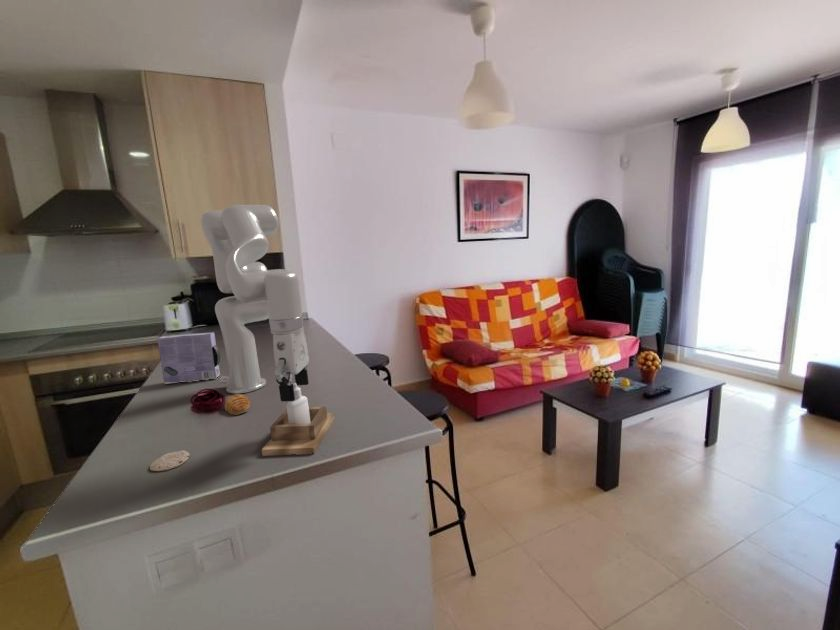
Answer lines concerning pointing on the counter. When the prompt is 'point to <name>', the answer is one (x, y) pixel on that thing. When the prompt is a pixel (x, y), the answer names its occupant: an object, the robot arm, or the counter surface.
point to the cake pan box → (189, 357)
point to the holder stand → (298, 434)
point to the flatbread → (169, 461)
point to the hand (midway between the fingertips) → (295, 392)
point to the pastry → (237, 404)
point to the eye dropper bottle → (298, 408)
